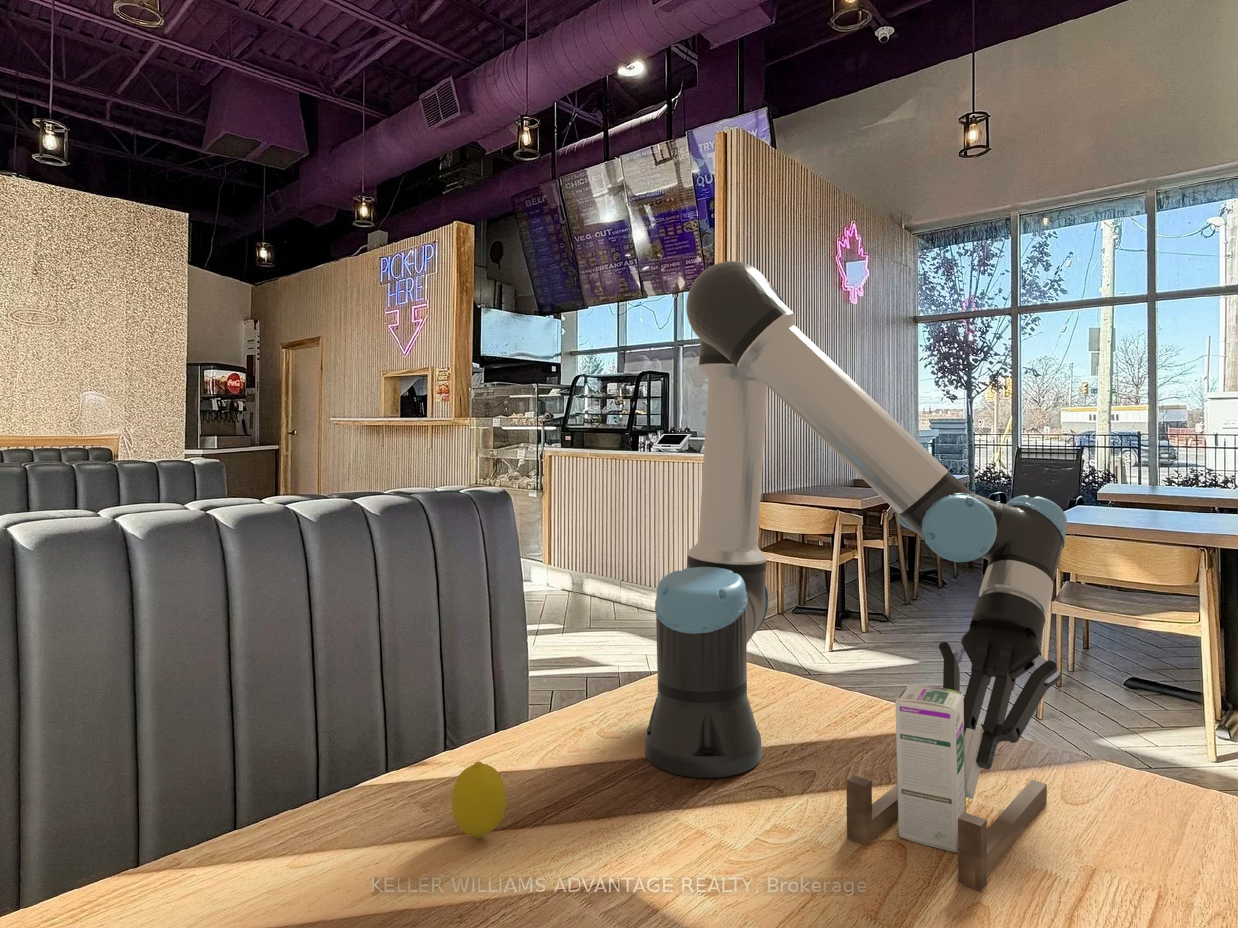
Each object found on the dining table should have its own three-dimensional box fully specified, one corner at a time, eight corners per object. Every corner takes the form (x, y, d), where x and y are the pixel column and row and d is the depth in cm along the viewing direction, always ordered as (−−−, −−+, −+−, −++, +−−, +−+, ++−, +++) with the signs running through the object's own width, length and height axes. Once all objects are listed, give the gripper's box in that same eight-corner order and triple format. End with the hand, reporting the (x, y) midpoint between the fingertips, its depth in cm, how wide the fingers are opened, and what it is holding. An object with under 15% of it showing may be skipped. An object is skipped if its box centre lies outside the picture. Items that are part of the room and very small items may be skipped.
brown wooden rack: (846, 837, 75) (846, 779, 74) (933, 767, 90) (933, 719, 90) (981, 891, 65) (980, 825, 65) (1051, 802, 81) (1051, 749, 81)
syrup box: (958, 854, 71) (958, 707, 71) (895, 837, 74) (894, 697, 74) (966, 827, 76) (966, 690, 76) (906, 813, 79) (906, 681, 79)
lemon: (460, 858, 72) (459, 778, 72) (446, 832, 77) (444, 757, 77) (514, 843, 75) (512, 766, 74) (497, 819, 79) (495, 746, 79)
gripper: (1078, 633, 86) (1038, 828, 75) (963, 616, 95) (911, 787, 84) (1066, 596, 82) (1022, 796, 71) (947, 582, 91) (890, 757, 80)
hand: (962, 791), depth 77 cm, fingers closed
